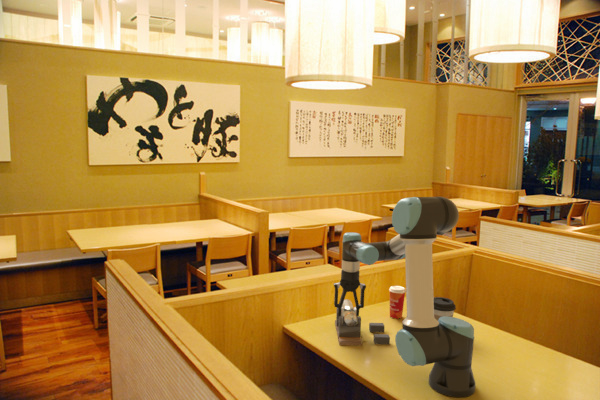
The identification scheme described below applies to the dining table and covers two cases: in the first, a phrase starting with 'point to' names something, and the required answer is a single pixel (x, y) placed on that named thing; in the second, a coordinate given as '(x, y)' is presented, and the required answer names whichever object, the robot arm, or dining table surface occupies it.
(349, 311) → the silver metal cylinder
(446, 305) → the coffee cup
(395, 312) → the paper cup
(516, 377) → the dining table surface
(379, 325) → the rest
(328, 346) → the dining table surface
